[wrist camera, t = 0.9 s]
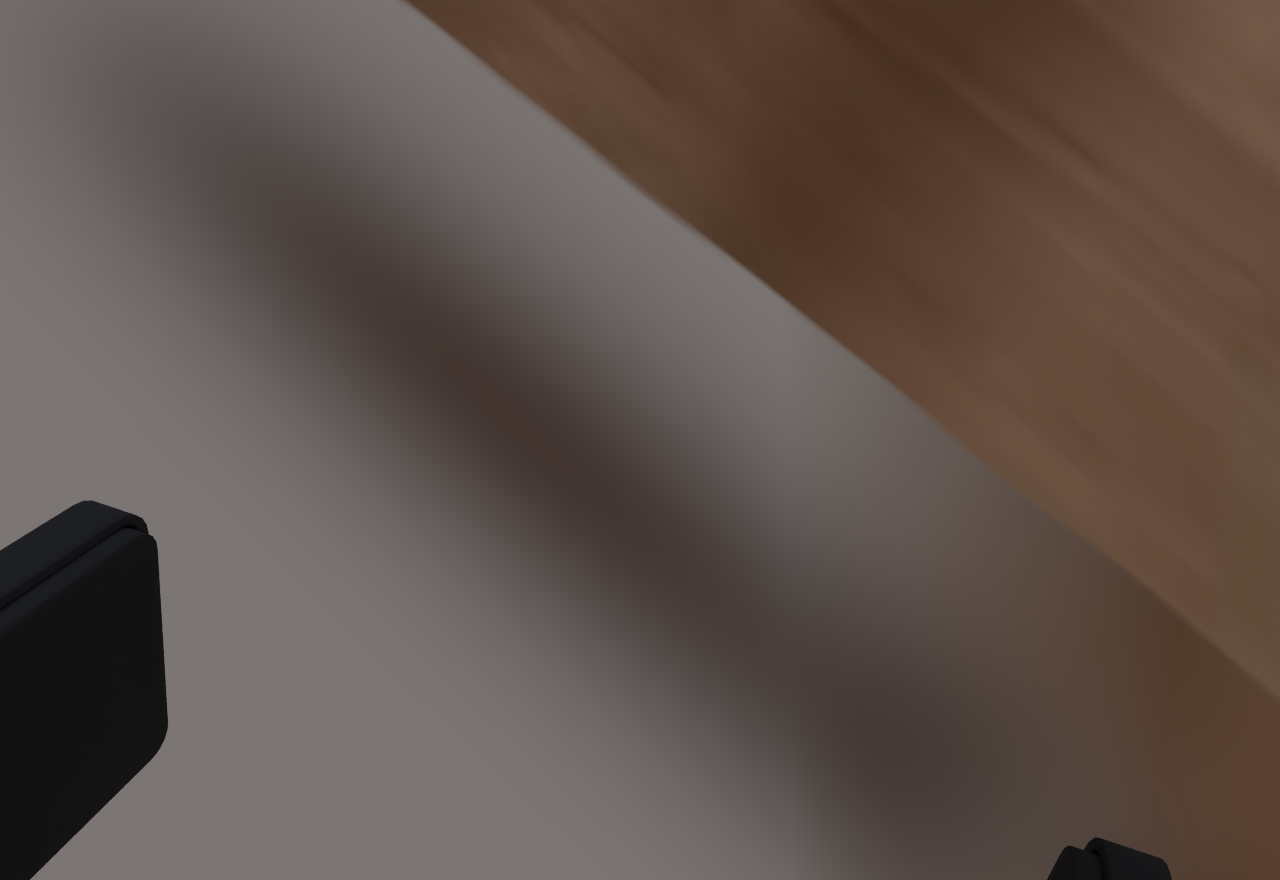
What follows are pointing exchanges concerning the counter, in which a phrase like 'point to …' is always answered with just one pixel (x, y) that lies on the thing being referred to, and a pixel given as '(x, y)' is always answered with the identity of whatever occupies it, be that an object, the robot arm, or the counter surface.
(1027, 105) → the counter surface
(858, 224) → the counter surface
